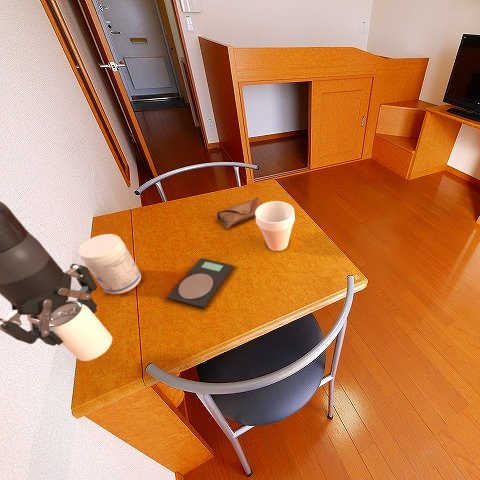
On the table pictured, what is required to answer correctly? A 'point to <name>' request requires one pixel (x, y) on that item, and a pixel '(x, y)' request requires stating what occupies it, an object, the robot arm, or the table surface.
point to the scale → (200, 283)
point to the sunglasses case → (238, 213)
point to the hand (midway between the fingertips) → (75, 325)
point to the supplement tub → (110, 263)
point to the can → (80, 331)
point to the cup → (275, 223)
